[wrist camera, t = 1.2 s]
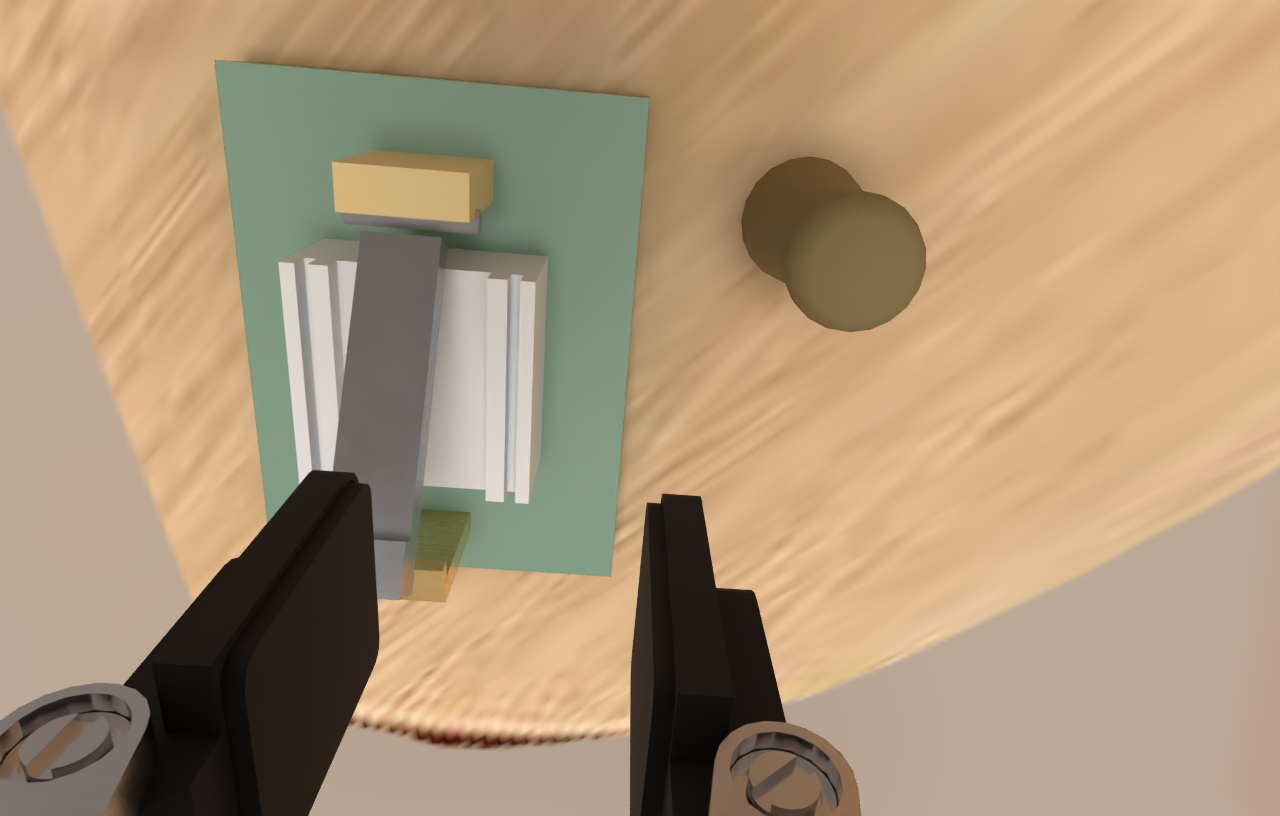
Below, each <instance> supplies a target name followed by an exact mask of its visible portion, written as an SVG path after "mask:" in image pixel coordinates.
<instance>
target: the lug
mask: <svg viewBox="0 0 1280 816" xmlns="http://www.w3.org/2000/svg"><path fill="white" fill-rule="evenodd" d="M470 533H471V512H460V511H445V510H430V509H421V513H420V523H419V533H418V542H417V552H416V562H415V572H414V581H413V591H412V595H410V596H408V597H406V598H403V599H401V600H416V601H432V602H446V599H447V597H448V594H449V591H450V588H451V586H452V583H453V580H454V577H455V574H456V572H457V569H458V566H459V563H460V561H461V558H462V555H463V552H464V549H465V547H466V544H467V541H468V538H469V536H470Z"/></svg>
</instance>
